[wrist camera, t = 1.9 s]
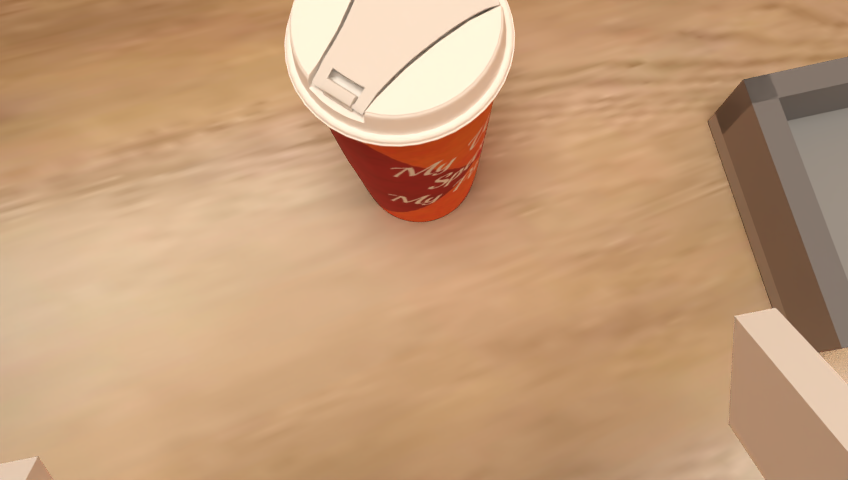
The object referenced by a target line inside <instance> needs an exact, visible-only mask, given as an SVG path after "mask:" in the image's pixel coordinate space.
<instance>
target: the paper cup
mask: <svg viewBox="0 0 848 480" xmlns="http://www.w3.org/2000/svg"><path fill="white" fill-rule="evenodd" d="M514 44H515V31H514V24H513V18H512V14H511V11H510V8H509V5H508V2H507V0H294V2H293V6H292V9H291V14H290V17H289V21H288V24H287V27H286V36H285V60H286V64H287V69H288V73H289V76H290V79H291V81H292V83H293V86H294V88H295V90H296V92H297V94H298V95H299V97H300V98H301V100H302V101H303V103H304V104H305V106H306V107H307V108H308V109H309V110H310V111H311V112H312V113H313V114H314V115H315V116H316V117H317V118H318V119H319V120H320V121H322V122H323V123H324V124H326V125H327V126H328V127H329V128H330V130H331V132H332V134H333V135H334V137H335V139H336V140H337V142H338V144H339V146H340V147H341V149H342V151H343V153H344V154H345V156H346V158H347V159H348V161H349V163H350V164H351V166H352V167H353V168H354V170H355V171H356V173H357V174H358V176H359V177H360V179H361V180H362V182H363V183H364V185H365V187H366V188H367V190H368V191H369V192H370V194H371V195H372V197H373V198H374V199H375V201H376V202H377V203H378V204H379V205H380V206H381V207H382V208H383V209H384V210H386V211H387V212H388V213H390V214H392V215H393V216H395V217H398V218H400V219H403V220H407V221H413V222H426V221H431V220H435V219H438V218H441V217H443V216H445V215H447V214H449V213H450V212H452V211H453V210H454V209H456V208H457V207H458V206H459V205H460V204H461V203H462V201H463V200H464V199H465V197H466V196H467V194H468V192H469V190H470V188H471V186H472V183H473V180H474V177H475V174H476V170H477V166H478V162H479V158H480V155H481V150H482V146H483V142H484V138H485V134H486V130H487V126H488V121H489V117H490V113H491V108H492V104H493V100H494V99H495V98H496V96H497V94H498V93H499V91H500V89H501V88H502V86H503V84H504V83H505V80H506V78H507V75H508V73H509V70H510V68H511V64H512V59H513V54H514Z"/></svg>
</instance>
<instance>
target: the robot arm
mask: <svg viewBox="0 0 848 480" xmlns="http://www.w3.org/2000/svg"><path fill="white" fill-rule="evenodd" d="M729 426H730V427H731V429H732V430H733V432H734V433H735V435H736V436H737V438H738V439H739V441H740V442H741V444H742V445H743V447H744V448H745V450H746V451H747V453H748V454H749V456H750V457H751V459H752V460H753V462H754V463H755V465H756V466H757V468H758V469H759V471H760V472H761V474H762V475H763V477H764V478H765V480H848V384H847V383H846V382H845V381H844V380H843V379H842V378H841V376H840V375H839V374H838V373H837V372H836V371H835V370H834V369H833V368H832V367H831V366H830V365H829V364H828V363H827V362H826V361H825V360H824V358H823V357H822V356H821V355H820V354H819V353H818V352H817V351H816V350H815V349H814V348H813V347H812V346H811V345H810V344H809V343H808V342H807V340H806V339H805V338H804V337H803V336H802V335H801V334H800V333H799V332H798V331H797V330H796V329H795V328H794V327H793V326H792V325H791V323H790V322H789V321H788V320H787V319H786V318H785V317H784V316H783V315H782V314H781V313H780V312H779V311H778V310H777V309H776V308H772V309H767V310H762V311H757V312H752V313H747V314H742V315H737V316H734V334H733V353H732V371H731V390H730V408H729ZM0 480H53V478H52V477H51V475H50V474H49V472H48V470H47V469H46V467H45V466H44V464H43V463H42V461H41V460H40V458H39V457H38V456H37V457H32V458H27V459H22V460H17V461H12V462H7V463H2V464H0Z"/></svg>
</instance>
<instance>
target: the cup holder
mask: <svg viewBox="0 0 848 480" xmlns="http://www.w3.org/2000/svg"><path fill="white" fill-rule="evenodd" d="M708 123H709V126H710V129H711V132H712V135H713V138H714V141H715V144H716V147H717V149H718V152H719V155H720V158H721V161H722V164H723V167H724V170H725V172H726V175H727V178H728V181H729V184H730V187H731V190H732V193H733V196H734V198H735V201H736V204H737V207H738V210H739V213H740V216H741V219H742V221H743V224H744V227H745V230H746V233H747V236H748V239H749V242H750V245H751V247H752V250H753V253H754V256H755V259H756V262H757V265H758V268H759V270H760V273H761V276H762V279H763V282H764V285H765V288H766V291H767V294H768V296H769V299H770V302H771V305H772V308H776V309H777V310H778V311H779V312H780V313H781V314H782V315H783V316H784V317H785V318H786V319H787V320H788V321H789V322H790V323H791V325H792V326H793V327H794V328H795V329H796V330H797V331H798V332H799V333H800V334H801V335H802V336H803V337H804V338H805V339H806V340H807V342H808V343H809V344H810V345H811V346H812V347H813V348H814V349H815V350H816V351H817V352H824V351H830V350H836V349H842V348H846V347H848V57H845V58H840V59H836V60H831V61H826V62H822V63H817V64H813V65H808V66H803V67H799V68H794V69H790V70H785V71H780V72H776V73H771V74H767V75H762V76H758V77H753V78H748V79H744V80H742V82H741V83H740V84H739V85H738V86H737V88H736V89H735V90H734V91H733V92H732V93H731V95H730V96H729V97H728V98H727V99H726V101H725V102H724V103H723V104H722V105H721V106H720V108H719V109H718V110H717V111H716V112H715V114H714V115H713V116H712V117H711V118H710V119H709V121H708Z"/></svg>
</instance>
